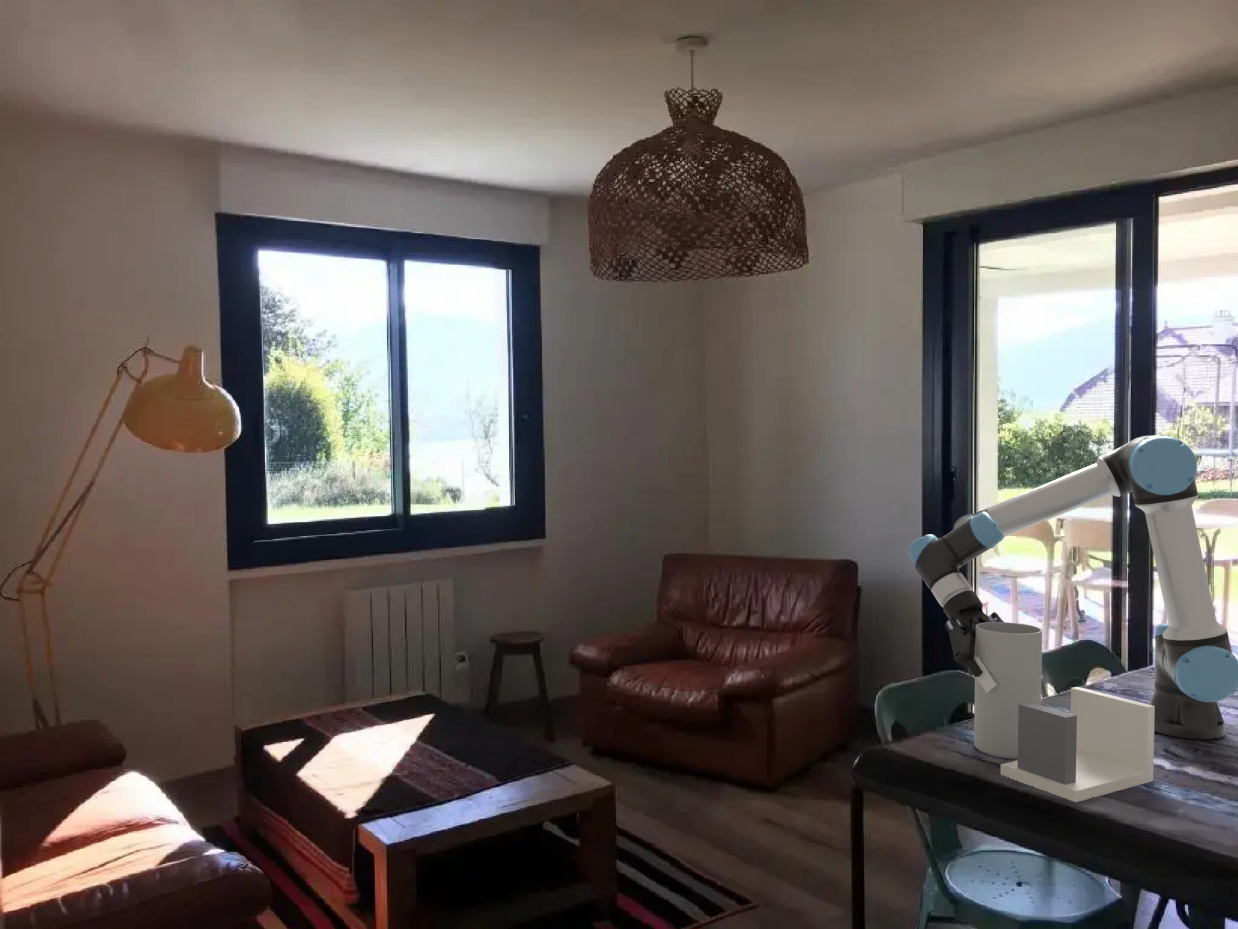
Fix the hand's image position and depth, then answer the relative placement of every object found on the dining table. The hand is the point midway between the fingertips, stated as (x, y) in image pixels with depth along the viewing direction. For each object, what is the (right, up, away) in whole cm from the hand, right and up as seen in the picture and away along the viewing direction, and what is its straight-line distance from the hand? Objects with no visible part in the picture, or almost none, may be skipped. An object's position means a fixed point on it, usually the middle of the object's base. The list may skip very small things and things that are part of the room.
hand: (1015, 685), depth 200 cm
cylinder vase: (-1, -14, +2) cm, 14 cm away
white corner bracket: (+6, -14, -14) cm, 21 cm away
